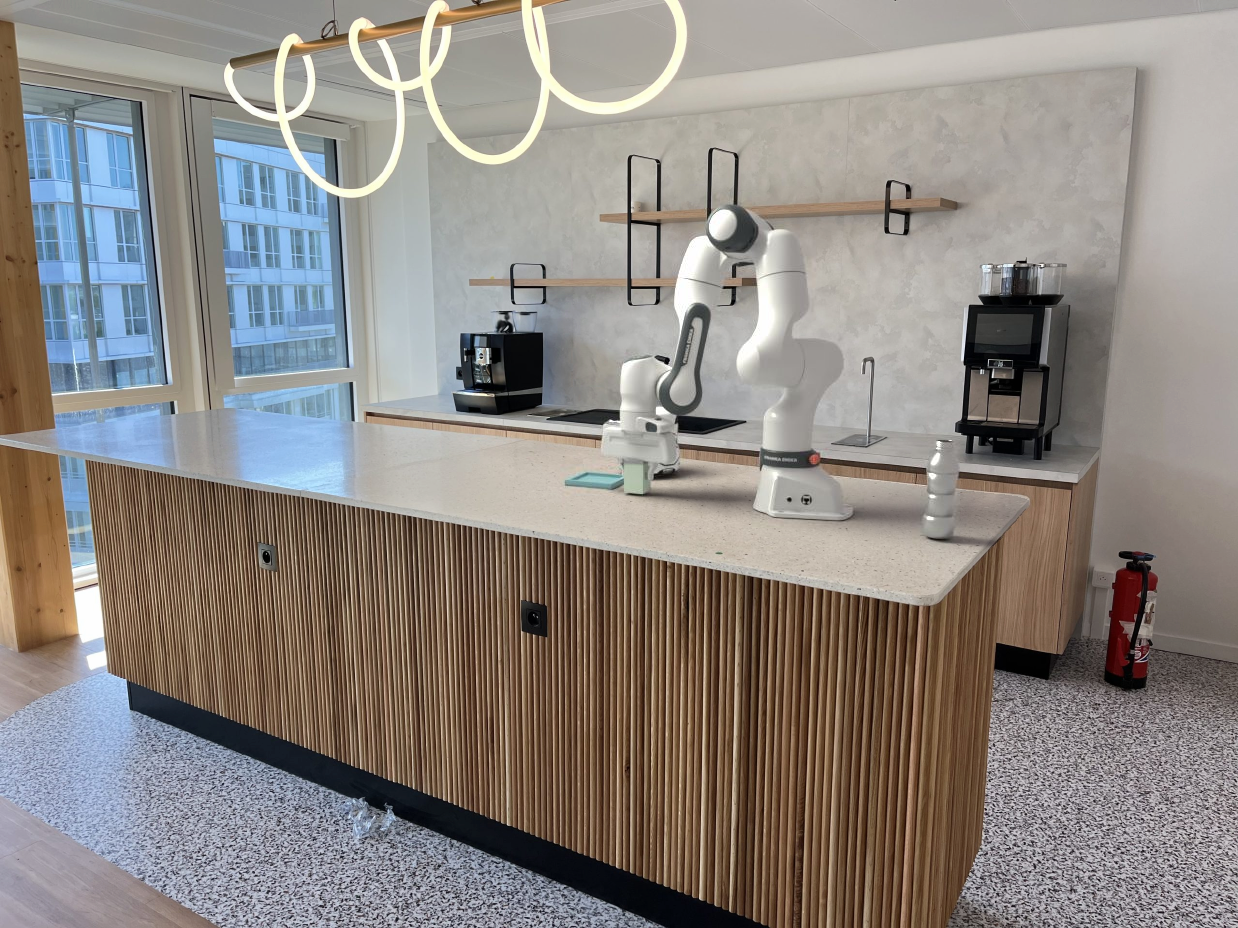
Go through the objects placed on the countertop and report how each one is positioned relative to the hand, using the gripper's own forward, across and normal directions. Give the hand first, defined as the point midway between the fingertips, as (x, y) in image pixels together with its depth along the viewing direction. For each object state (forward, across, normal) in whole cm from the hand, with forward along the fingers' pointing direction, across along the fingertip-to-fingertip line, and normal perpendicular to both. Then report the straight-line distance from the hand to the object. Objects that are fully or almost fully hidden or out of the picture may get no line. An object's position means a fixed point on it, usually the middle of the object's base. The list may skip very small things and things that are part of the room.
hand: (637, 478), depth 220 cm
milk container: (+4, -12, +24) cm, 27 cm away
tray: (+4, -16, +5) cm, 17 cm away
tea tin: (+3, 0, 0) cm, 3 cm away
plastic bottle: (+5, +72, +1) cm, 72 cm away
